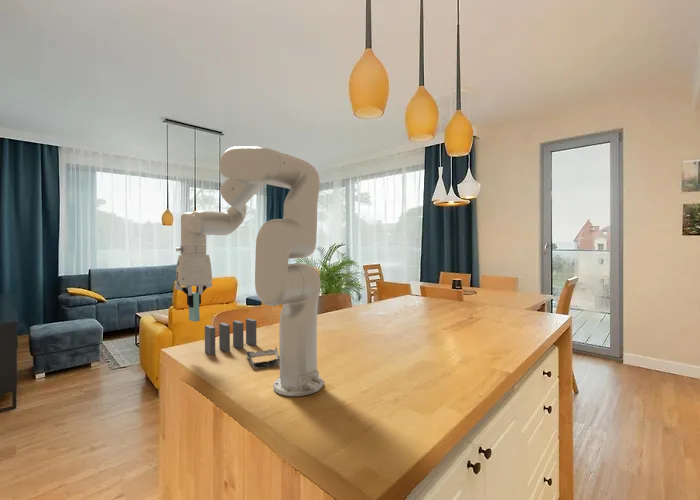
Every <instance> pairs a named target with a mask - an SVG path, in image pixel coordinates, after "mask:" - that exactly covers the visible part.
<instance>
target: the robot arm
mask: <svg viewBox="0 0 700 500" xmlns="http://www.w3.org/2000/svg"><path fill="white" fill-rule="evenodd" d="M218 163H219V164H218V167H219V172H220V173H221V176H223V177H224V178H226V179H225V180H224V181H223V182H222V183H221V185H220V188H219V192H220V195H221V197H222V198H223V200H224V201H225V202H226V203H227V204H228V205H229V206H230V207H229V208H228V209H227V210H225V212H224V211H223V212H221V211H214V210H213V211H212V210H194V211H192V212H189V211H188V212H183V213H182V214H181V215H180V246H178V247H176V248H175V251H176V252H179V253H180V254H178V257H177V263H176V270H175V272H176V273H175V283H174V284H175V285H174V289H175V290H177V291H182V292H183V293H184V294H185V295H186V305H187V306H188V308H189V307H191V308H193V295H192V292H193V287H195V293H199V308H200V307H201V306H200V305H202V295H203V293H204V292H205V291H206V290H207V289H210V288H212V287H213V282H212V281H213V273H212V272H213V271H212V270H213V269H212V263H211V257H210V254H207V236H228V235H230V234H232V233H234V232H235V231H236V230H237V229H238V228H239V227H240V226H241V225H242V223H243V222H244V221H245V219H246V215H247V204H248V202H249V201H250V200H251V199H252V198H253V197H254V196H255V194H256V193H257V192H259V190H260V189H261V188H262V187H263V186H264V185H270V186H274V187H278V188H279V187H280V188H283V189H284V188H285V189H288V190H289V191H288V193H287V195H286V197H285V200H284V203H283V217H282V218H274V219H269V220H267V221H266V222H264V223H263V224H262V225H261V227H260V229H259V230H258V233H257V235H256V240H255V260H254V261H255V265H254V269H255V270H254V287H255V292H256V295H257V297H258V299H259V301H260V302H261V303H262V304H264V305H266V306H268V307H269V306H270V307H274V306H275V307H276V306H281V305H282V307H281V310H280V314H279V334H278V335H279V340H278V341H279V359H280V360H279V377H278V378H276V379H275V380H274V382H273V390H274V392H276V393H277V394H279V395H282V396H286V397H304V396H308V395H312V394H315V393H317V392H319V391H320V390H321V389H322V388H323V386H324V384H325V380H324V379H323V378H322V377H321V376H320V371H319V370H318V304H319V296H320V291H321V285H322V284H321V277H320V276H321V275H320V274H319V272H318V271H317V269H316V268H315V267H313V266H312V265H311V264H307V263H300V262H298V263H289V260H292V259H293V260H294V259H304V258H308V257H310V256H311V255H312V254H313V253H314V252H315V251H316V247H317V234H318V233H317V231H318V230H317V228H318V203H319V194H320V188H321V187H320V185H321V182H320V181H321V180H320V175H319V173H318V171H317V169H316V168H315V167H314V166H313V165H312V164H311V163H310V162H308V161H306V160H304V159H302V158H298V157H296V156H295V155H294V156H293V155H290V154H287V153H284V152H281V151H278V150H275V149H272V148H268V147H264V146H233V147H230V148H228V149H226V150H225V151H224V152H223V153H222V155H221V157H220V158H219V162H218Z"/></svg>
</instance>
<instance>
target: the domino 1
mask: <svg viewBox="0 0 700 500" xmlns="http://www.w3.org/2000/svg"><path fill="white" fill-rule="evenodd" d="M204 353H206V354H208V355H209V356H213V355H216V327H215V326H212V325H210V324H207V325H204Z"/></svg>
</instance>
